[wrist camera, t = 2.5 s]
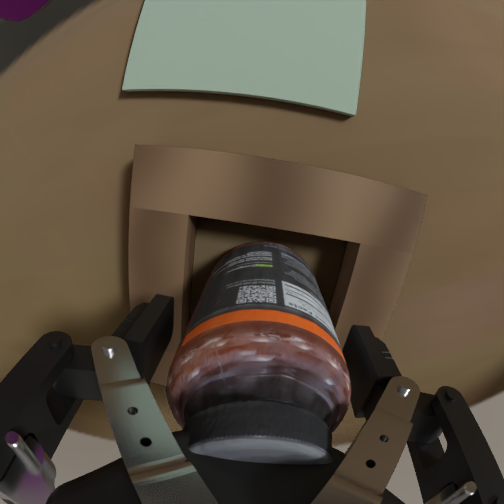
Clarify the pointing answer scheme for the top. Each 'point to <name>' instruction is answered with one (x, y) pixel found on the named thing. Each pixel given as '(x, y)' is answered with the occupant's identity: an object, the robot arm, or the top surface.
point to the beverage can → (20, 8)
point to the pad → (252, 50)
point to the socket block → (268, 215)
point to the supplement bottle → (260, 363)
